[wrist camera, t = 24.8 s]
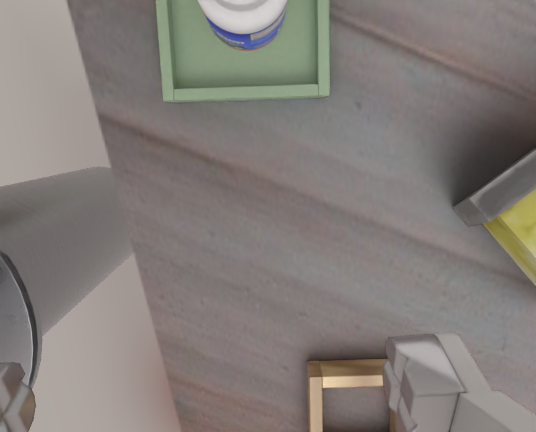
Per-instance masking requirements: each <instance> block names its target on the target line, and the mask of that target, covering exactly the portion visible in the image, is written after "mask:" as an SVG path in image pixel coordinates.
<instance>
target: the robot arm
mask: <svg viewBox="0 0 536 432" xmlns="http://www.w3.org/2000/svg"><path fill="white" fill-rule="evenodd" d="M385 351H386V354H387V357H388V360H387V361H386V362H385V363H384V364H383V372H382V378H383V388H384V393H385V397H386V400H387V403H388V406H389V408H391V409H392V410H393V411H394V412H395V413H396V420H395V427H396V430H397V432H536V414H534V413H533V412H531V411H530V410H528V409H527V408H525V407H524V406H522V405H521V404H519V403H518V402H516V401H515V400H513V399H512V398H510V397H509V396H507V395H506V394H504V393H503V392H501V391H493V390H492V388H491V387H490V385H489V383H488V382H487V380H486V378H485V377H484V375H483V373H482V372H481V370H480V369H479V367H478V365H477V364H476V362H475V360H474V359H473V357H472V355H471V354H470V352H469V350H468V349H467V347H466V345H465V344H464V342H463V340H462V339H461V337H460V335H459V334H457V333H456V332H446V333H433V334H420V335H407V336H394V337H388V339H387V341H386V346H385ZM24 375H25V373H24V371H23V369H22V367H21V365H20V363H14V362H11V363H0V432H28V431H29V429H30V427H31V424H32V422H33V419H34V413H35V407H36V404H35V396H34V393H33V391H32V389H31V387H29V386H27V385H26V384H24V383H23V382H21V381H22V379H23V377H24Z"/></svg>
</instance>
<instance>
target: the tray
mask: <svg viewBox="0 0 536 432" xmlns="http://www.w3.org/2000/svg"><path fill="white" fill-rule="evenodd" d="M155 1H156V15H157V28H158V41H159V54H160V67H161V80H162V93H163V101H166V102H169V103H185V102H213V101H242V100H271V99H299V98H325V97H327V96H329V95H330V46H329V0H288V3H287V8H286V13H285V18H284V23H283V26H282V28H281V30H280V32H279V33H278V35H277V36H276V37H275V39H274V40H273V41H272V42H270V43H269V44H268V45H266V46H265V47H263V48H260V49H258V50H254V51H239V50H235V49H232V48H230V47H228V46H227V45H225V44H224V43H223V42H221V41H220V40H219V39H218V37H217V36H216V35H215V34H214V32H213V31H212V29H211V27H210V25H209V23H208V21H207V19H206V17H205V15H204V13H203V11H202V9H201V7H200V5H199V3H198V0H155Z"/></svg>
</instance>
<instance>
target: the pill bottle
mask: <svg viewBox="0 0 536 432" xmlns="http://www.w3.org/2000/svg"><path fill="white" fill-rule="evenodd" d="M198 3H199V5H200V7H201V9H202V11H203V13H204V15H205V17H206V19H207V21H208V23H209V25H210V27H211V29H212V31H213V32H214V34H215V35H216V36H217V37H218V39H219V40H220V41H221V42H223V43H224V44H225V45H227V46H228V47H230V48H232V49H235V50H239V51H254V50H258V49H260V48H263V47H265V46H266V45H268V44H269V43H270V42H272V41H273V40H274V39H275V37H276V36H277V35H278V33H279V32H280V30H281V28H282V26H283V23H284V18H285V13H286V8H287V3H288V0H198Z"/></svg>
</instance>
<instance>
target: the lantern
mask: <svg viewBox="0 0 536 432" xmlns="http://www.w3.org/2000/svg"><path fill="white" fill-rule="evenodd" d="M453 210H454V211H455V212H456V213H457V214H458V215H459V217H460V218H461V219H462V220H463V221H464V223H465V224H466V225H467V226H468V227H469V226H473V225H478V224H483V225H484V226H485V228H486V229H487V230H488V231H489V232H490V233H491V235H492V236H493V237H494V238H495V239H496V240H497V242H498V243H499V244H500V245H501V246H502V247H503V249H504V250H505V251H506V252H507V253H508V254H509V256H510V257H511V258H512V259H513V260H514V261H515V263H516V264H517V265H518V266H519V267H520V268H521V270H522V271H523V272H524V273H525V274H526V275H527V277H528V278H529V279H530V280H531V281H532V282H533V284H534V285H535V286H536V147H535V148H534V149H532V150H531V151H530V152H528V153H527V154H525V155H524V156H523V157H521V158H520V159H519V160H517V161H516V162H514V163H513V164H512V165H510V166H509V167H508V168H506V169H505V170H503V171H502V172H501V173H499V174H498V175H497V176H495V177H494V178H493V179H491V180H490V181H488V182H487V183H486V184H484V185H483V186H482V187H480V188H479V189H477V190H476V191H475V192H473V193H472V194H471V195H469V196H468V197H466V198H465V199H464V200H462V201H461V202H460V203H458V204H457V205H456V206H454V207H453Z"/></svg>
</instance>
